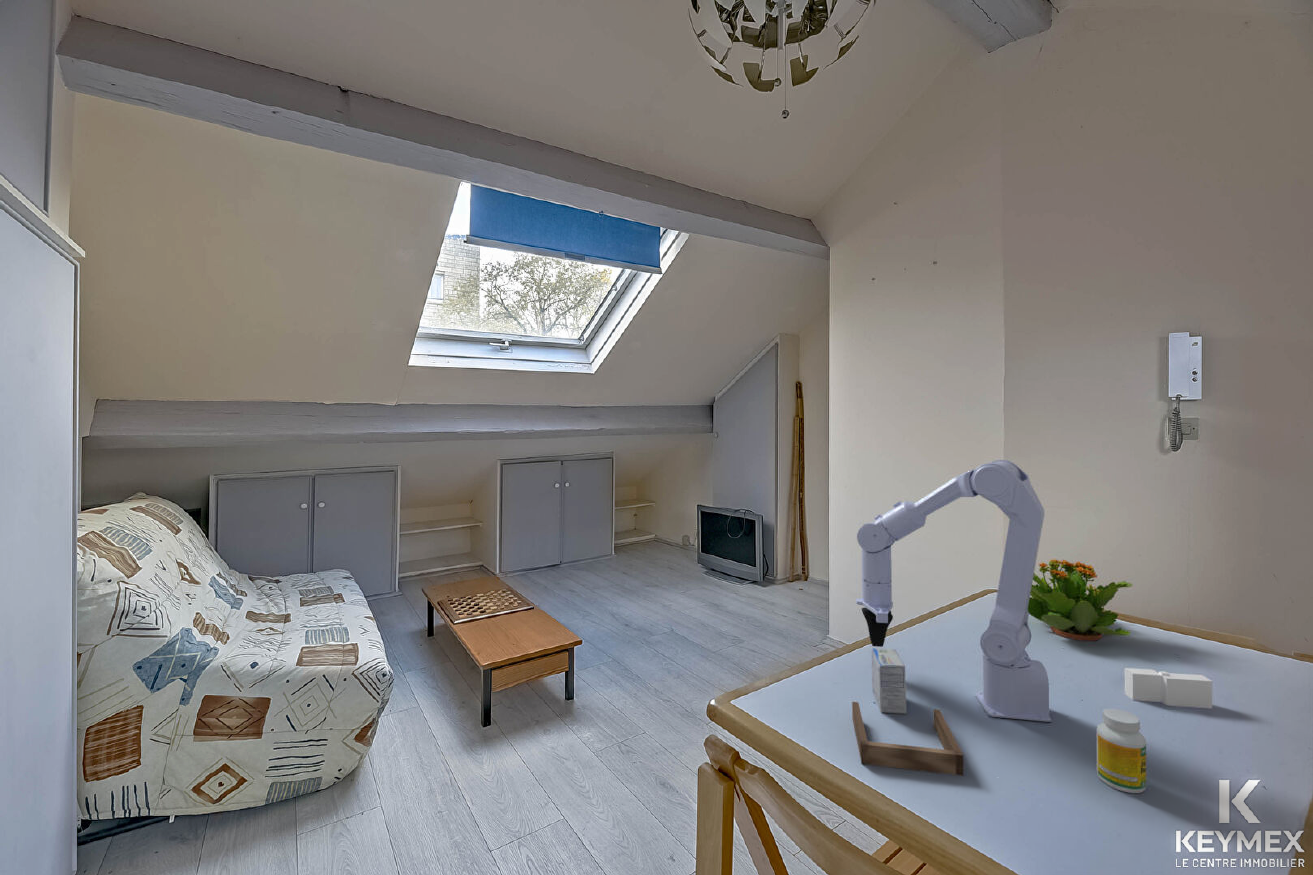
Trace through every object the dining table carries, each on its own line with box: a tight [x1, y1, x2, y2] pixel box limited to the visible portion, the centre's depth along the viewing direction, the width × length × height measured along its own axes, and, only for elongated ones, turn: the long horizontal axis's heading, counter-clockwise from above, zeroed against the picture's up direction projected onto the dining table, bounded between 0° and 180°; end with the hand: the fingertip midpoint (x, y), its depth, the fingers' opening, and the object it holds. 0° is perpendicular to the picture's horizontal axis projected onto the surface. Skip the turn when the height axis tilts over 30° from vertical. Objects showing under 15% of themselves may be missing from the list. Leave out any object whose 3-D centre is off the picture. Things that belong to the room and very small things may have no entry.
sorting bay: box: [851, 701, 965, 777], centre depth 88 cm, size 14×13×3 cm
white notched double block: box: [1124, 667, 1213, 709], centre depth 100 cm, size 15×11×6 cm
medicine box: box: [871, 647, 907, 715], centre depth 101 cm, size 8×4×9 cm, turn 168°
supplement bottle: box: [1096, 708, 1147, 794], centre depth 78 cm, size 5×5×10 cm
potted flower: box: [1028, 558, 1133, 642], centre depth 130 cm, size 25×24×18 cm
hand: (877, 645), depth 114 cm, fingers closed
